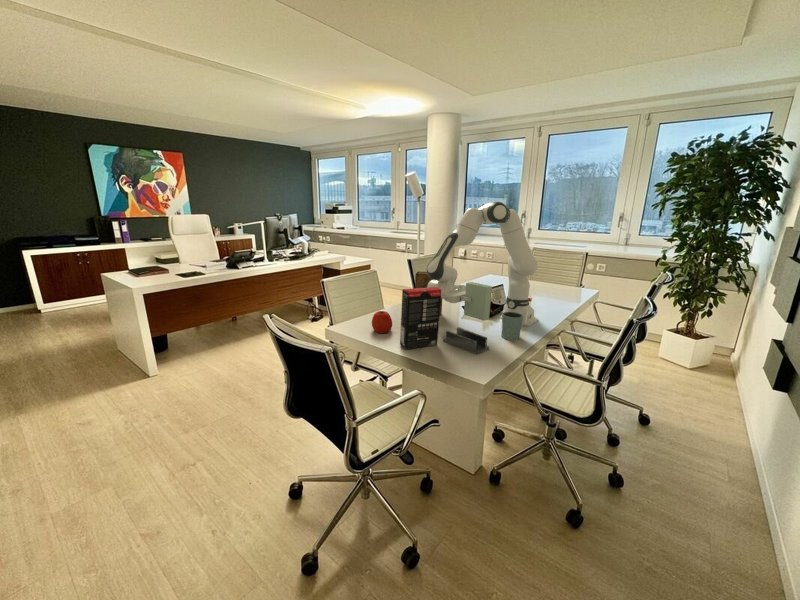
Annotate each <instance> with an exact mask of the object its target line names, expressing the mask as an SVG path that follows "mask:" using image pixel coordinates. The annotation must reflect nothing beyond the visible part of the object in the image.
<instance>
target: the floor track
mask: <svg viewBox="0 0 800 600" xmlns="http://www.w3.org/2000/svg"><path fill="white" fill-rule="evenodd" d="M442 339H443V340H442V341H443V342H445V343H447V344H450V345H452V346H454V347H457V348H459V349H462V350H465V351H467V352H469V353H472V354H475V355H479V354H483V353H485V352H487V351H490V346H489V345H487V344H488V337H487V336H484V335H481V334H478V333H476V332H473V331H470V330H467V329H465V328H462V327H459V326H458V327H456V333H455V332H453V331H450V330H446V331H445V337H443V338H442Z"/></svg>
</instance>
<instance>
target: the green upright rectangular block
mask: <svg viewBox="0 0 800 600" xmlns="http://www.w3.org/2000/svg"><path fill="white" fill-rule="evenodd" d="M465 286H466V291H465V297H471V298H472V301H471V302H469V301H464V307H463V315H464V316H468V317H471V318H475V319H476V320H477V319H478V320H481V321H486V320H490V312H491V301H492V289H493V286H491V285H487V284H483V283H479V282H478V283H477V282H473V281H469V282H465Z"/></svg>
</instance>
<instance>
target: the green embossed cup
mask: <svg viewBox="0 0 800 600" xmlns="http://www.w3.org/2000/svg"><path fill="white" fill-rule="evenodd" d="M501 316H502V319H501V338H502V339H504V340H507V341H518V340H520V336H521V330H522V326H523V325H522V321H523V315H522V314H520V313H516V312H504V313H503V312H502V313H501Z"/></svg>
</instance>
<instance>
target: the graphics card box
mask: <svg viewBox="0 0 800 600" xmlns="http://www.w3.org/2000/svg"><path fill="white" fill-rule="evenodd" d="M401 293H402V294H401V317H400V318H401V319H400V336H399V345H400V346H401V347H402V348H403V350H411V349H418V348H427V347H433V346H437V345H438V341H439V325H440V316H441V315H440V302H441V289H440V288H438V287H430V288H415V287H414V288H404V289H402V292H401ZM439 315H440V316H439Z"/></svg>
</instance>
